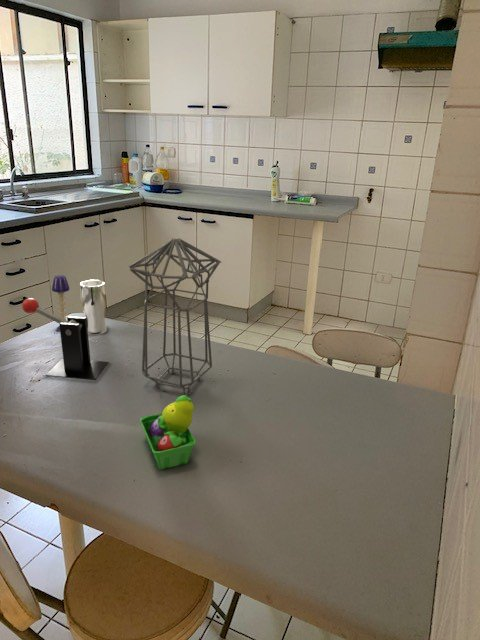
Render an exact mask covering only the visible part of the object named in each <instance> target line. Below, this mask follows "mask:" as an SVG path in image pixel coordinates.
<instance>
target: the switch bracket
mask: <svg viewBox="0 0 480 640" xmlns="http://www.w3.org/2000/svg"><path fill="white" fill-rule="evenodd" d="M72 319H73V320H75V321H77V322H79V323H81V324H83V326H82V328H81V331H80V324H75V323H62V322H61V323H60V324H59V323H58V326H60V332H59V333H60V342H61V349H62V351H61V352H62V358H60V359H59V361H58V362H57V363H56V364H55V365H54V366H52V368H51V369H50V370H49V371H47V373H46V374H45V375H44V376H45V377H53V378H54V377H55V378H66V379H76V380H87V381H88V380H89V381H96V380H97V378H98V377H99V376H100V375H101V373H102V372H103V371H104V370H105V369H106V367H107V366H108V365H109V363H110V362H109V361H105V360H104V361H101V360H92V359H91V353H90V352H91V351H90V340H89V339H90V338H89V334H88V327H87V317H85V316H75V315H73V316H72V315H68V316H67V317H66V321H68V322H69V321H71V320H72Z"/></svg>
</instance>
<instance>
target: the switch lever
mask: <svg viewBox="0 0 480 640" xmlns="http://www.w3.org/2000/svg"><path fill="white" fill-rule="evenodd" d="M21 309H22V310H23V311H24V312H25V313H26V314H29V315H31V314H35V313H37V314H39V315H41V316H43V317H44V318H47V319H49V320H51V321H53V322H55V323H57V324H58V325H59V324H60V323H61V322H62V323H75V324H80V331H81V328H82V326H83V324H81V323H79V322H77V321H75V320H73V319H72V320H71V321H69V322H68V321H67V319H66V320H64V319H62V318H60V316H58V315H56V314H54V313H52V312H50V311H48V310H46V309H44V308H42V307H40V304H39V301H37V299H35V298H34V297H33V298H32V297H28V298H25V299H24V300H23V301H22V303H21Z"/></svg>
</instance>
